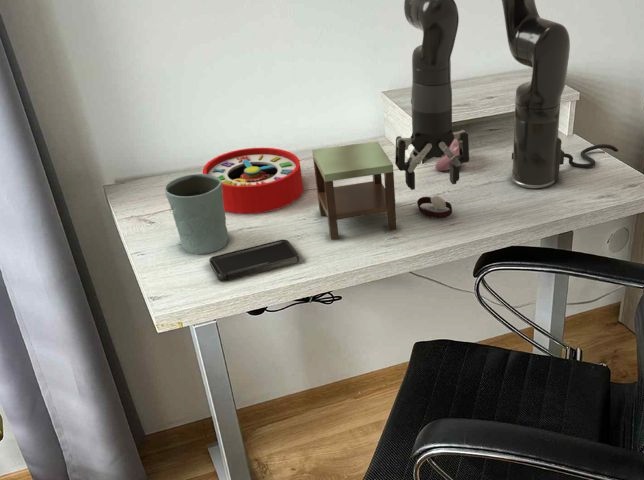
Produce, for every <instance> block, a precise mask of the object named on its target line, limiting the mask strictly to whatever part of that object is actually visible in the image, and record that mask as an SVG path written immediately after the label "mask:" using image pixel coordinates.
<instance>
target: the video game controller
mask: <svg viewBox="0 0 644 480" xmlns="http://www.w3.org/2000/svg"><path fill="white" fill-rule="evenodd" d="M449 149H450V150H451V152H452V153H453V154H454V155H455V156H458V155H459V143H458V142H457V141H456V139H454V141H453V142H452V144H451V145H450V147H449ZM450 163H451V160H450V159H449V158H448V157H447V155H446V154H444V155H443V156H442V157H441V159H439V160H438V161H436V163H435V170H436V171H438V172H443V171H447V170H450Z"/></svg>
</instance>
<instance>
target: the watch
mask: <svg viewBox="0 0 644 480" xmlns="http://www.w3.org/2000/svg"><path fill="white" fill-rule="evenodd" d="M416 204H417V208H418V212H419V213H420V214H422V215H423V216H426V217H427V218H434V219H445V218H449V217H450V216H452V214H453V208H452V207H453V206H452V204H451V202H448V201H446V199H445V198H444V197H443V196H441V195H438V194H435V195H433V196H432V197H431V196H423V197H419V198H418V199H417V201H416ZM425 204H431V205H433V206H434V208H436V209H439V210H444V209H446V208H447V210H444V211H433V210H429V209H426V208H423V207H421V206H422V205H425Z"/></svg>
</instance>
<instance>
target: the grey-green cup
mask: <svg viewBox="0 0 644 480" xmlns="http://www.w3.org/2000/svg"><path fill="white" fill-rule="evenodd" d="M164 192H165V195H166V198H167V201H168V204H169V206H170V209H171V211H172V217H173V220H174V222H175V227H176V229H177V232H178V236H179V240H180V243H181V246H182V248H183V250H184V251H186V252H187V253H190V254H195V255H205V254H211V253H214V252H218V251H220V250H222V249H223V248H225V247H226V246H227V244H228V242H229V235H228V227H227V226H226V224H227V217H226V211H225V209H224V204H223V190H222V182H221V180H220V178H218V177H216V176H213V175H209V174H203V173H196V174H188V175H182V176H180V177H177V178H175V179H173V180H171V181H169V182H168V183H167V184H166V185H165V187H164Z"/></svg>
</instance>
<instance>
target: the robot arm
mask: <svg viewBox="0 0 644 480" xmlns="http://www.w3.org/2000/svg"><path fill="white" fill-rule="evenodd" d="M501 4H502V5H501V6H502V10H503V16H504V17H503V18H504V24H505V29H506V30H505V31H506V38H507V43H508V49H509V51H510V54H511V56H512V58H513V59H514V60H515V61H516V62H518V63H519V64H521V65H523V66H525V67H529V68H532V72H531V74H532V75H531V79H530V81H527V82H523V83H521V84H519V85H518V86H517V87H516V89H515V95H514V96H515V97H514V124H513V125H514V126H513V149H512V150H513V151H512V153H511V160H512V170H511V181H512V183H514V184H515V185H516V186H519V187H522V188H525V189H543V188H544V189H545V188H547V187H550V186H552V185H554V184H555V183H559V180H560V179H559V178H560V166H561V165H564V163H565V158H567V159H568V164H569V165H570V166H572V167H573V168H578V169H579V168H580V169H590V168H592V167H594V166H595V165H596V161H595V159H594V158H592V157H590V156H588V155H587V153H588V152H591V151H594V150H595V151H596V150H598V149H609V150H611V151H613V152H615V153H616V152H619V149H618V148H617V147H615V146H614V145H612V144H607V143H602V144H594V145H591V146H589V147H586V148H584V149H583V150H581V151H580V154H579V155H580V157H581V158H582V159H583V160H585V161H587V162H589V163H578V162H575V161H574V157H573V155H572V154H570V153H565V151H564V150H563V149H562V139H561V138H560V137H559V126H560V114H561V113H560V112H561V101H562V95H563V93H564V89H565V87H566V82H567V74H568V66H569V58H570V50H571V48H570V46H571V41H570V40H571V39H570V34H569V31H568V29H567V27H565V26H564V25H563V24H562V23H559V22H556V21H552V20H549V19H547V18H543V17H541V16H540V14H539V12H538V8H537V5H536V0H501ZM403 11H404V17H405V19H406V21H407V22H408V24H409V25H411V26H412V27H414V28H415V29H418V30H420V31H422V43H421V44H419V45H418V46H416V47H414V49H413V51H412V55H411V78H412V79H411V81H412V83H411V92H410V94H411V95H410V97H411V98H410V105H411V136H410V137H402V136H401V135H398V136H396V137H395V157H394V160H395V162H394V163H395V166H396V168H397V169H398V171H400V172H402V171H404V177H405V179H404V180H405V184H406V186H407V187H408V188H409V190H411V191H413V190H414V191H415V190H416V173H415V170H416V168H417V167H418V165H420V164H421V163H422V162H423V160H424V159H426V160H430V159H433V158H437V159H438V158H443V157H444V156H445V155H444V154H446V155H447V157H448V158H449V159H450V160H451V163H450V168H449V182H450V183H451V184H452V185H457V182H459V180H460V166H461V164H464V163H465V164H466V163H468V162H469V161H470V148H469V147H470V145H469V134H468V132H467V131H465V130H464V129H463V128H460V129H458V131H454V132H453V89H452V80H451V79H452V71H451V70H452V68H451V67H452V61H451V60H452V59H451V57H452V54H453V50H454V46H455V43H456V39H457V35H458V34H457V33H458V29H459V21H460V18H459V17H460V16H459V15H460V14H459V9H458V6H457V3H456V1H455V0H404V4H403ZM454 139H456V141H457V142H458V143H459V155H458V156H455V155H454V154H453V153H452V152H451V150H450V149H449V147H450V145H451V144H452V142H453V141H454ZM410 145H412V147H413V149H412V150H411V152H410V154H409V157H408V158H407V159H406V151H407V150H409V146H410Z"/></svg>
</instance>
